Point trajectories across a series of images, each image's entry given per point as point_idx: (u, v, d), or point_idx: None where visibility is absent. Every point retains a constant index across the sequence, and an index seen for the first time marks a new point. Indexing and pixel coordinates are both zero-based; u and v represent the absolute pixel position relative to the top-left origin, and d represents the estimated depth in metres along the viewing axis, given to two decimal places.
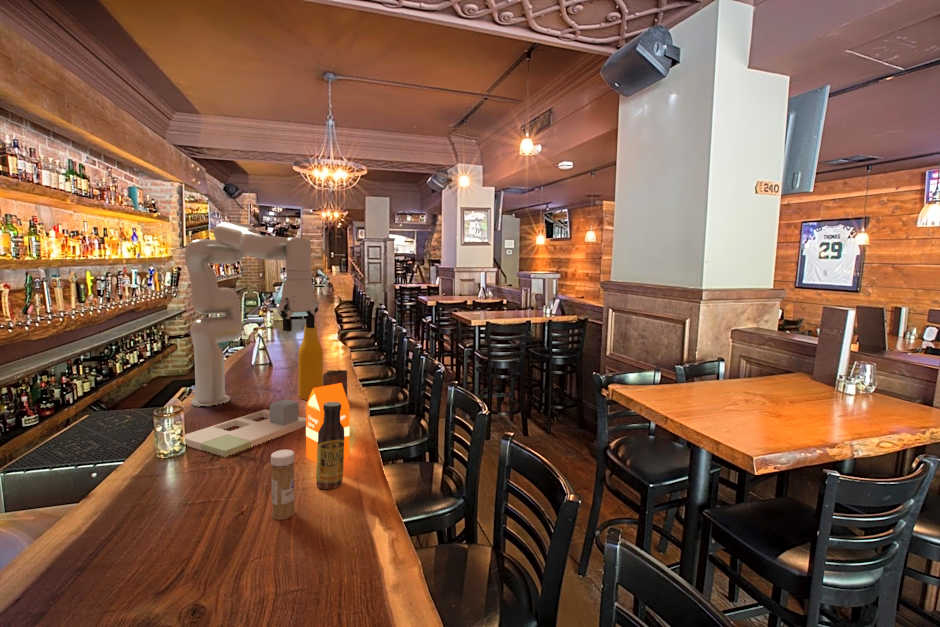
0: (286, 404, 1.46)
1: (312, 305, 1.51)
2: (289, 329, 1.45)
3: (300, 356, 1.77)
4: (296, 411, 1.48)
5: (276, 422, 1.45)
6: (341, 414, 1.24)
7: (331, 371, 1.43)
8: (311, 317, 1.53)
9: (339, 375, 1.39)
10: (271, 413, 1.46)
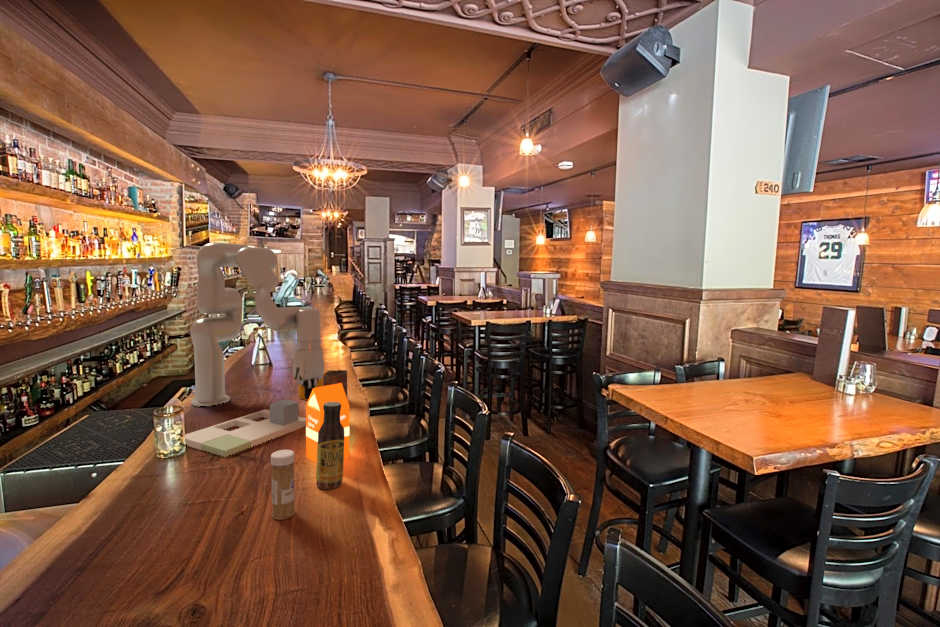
0: (286, 404, 1.46)
1: (322, 371, 1.58)
2: None
3: None
4: (296, 411, 1.48)
5: (276, 422, 1.45)
6: (341, 414, 1.24)
7: (331, 371, 1.43)
8: None
9: (339, 375, 1.39)
10: (271, 413, 1.46)
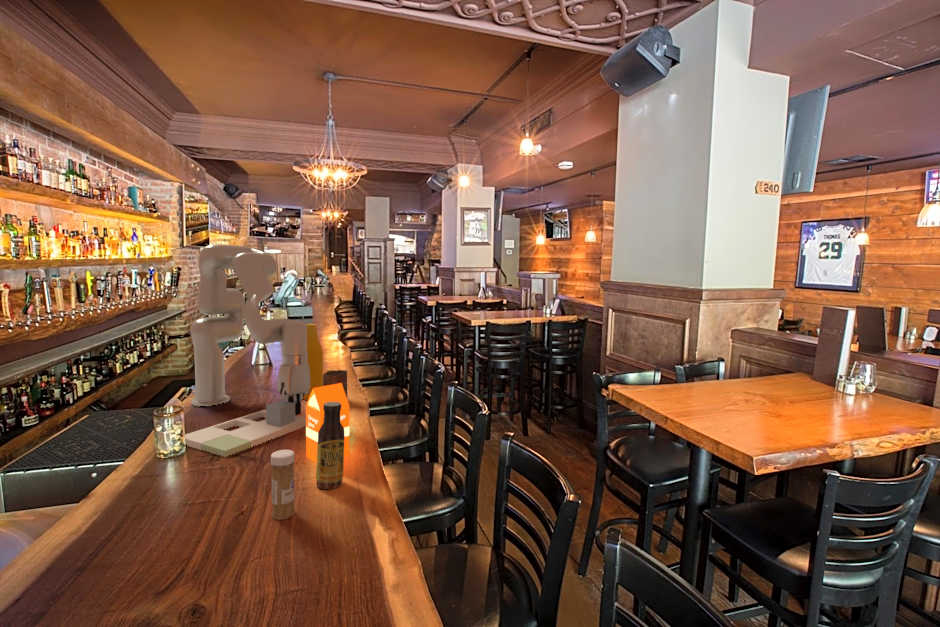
0: (283, 405, 1.45)
1: (308, 385, 1.54)
2: (296, 413, 1.51)
3: None
4: (293, 412, 1.47)
5: (273, 423, 1.44)
6: (341, 414, 1.24)
7: (331, 371, 1.43)
8: None
9: (339, 375, 1.39)
10: (267, 414, 1.45)
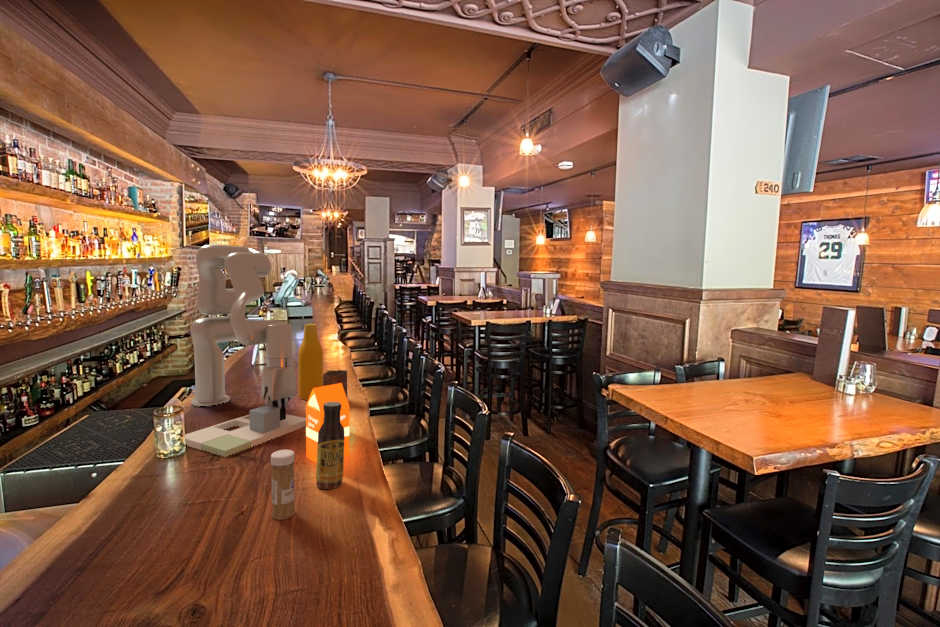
0: (267, 411, 1.39)
1: (293, 389, 1.48)
2: (281, 418, 1.45)
3: (300, 356, 1.77)
4: (277, 418, 1.42)
5: (256, 429, 1.38)
6: (341, 414, 1.24)
7: (331, 371, 1.43)
8: None
9: (339, 375, 1.39)
10: (251, 420, 1.39)
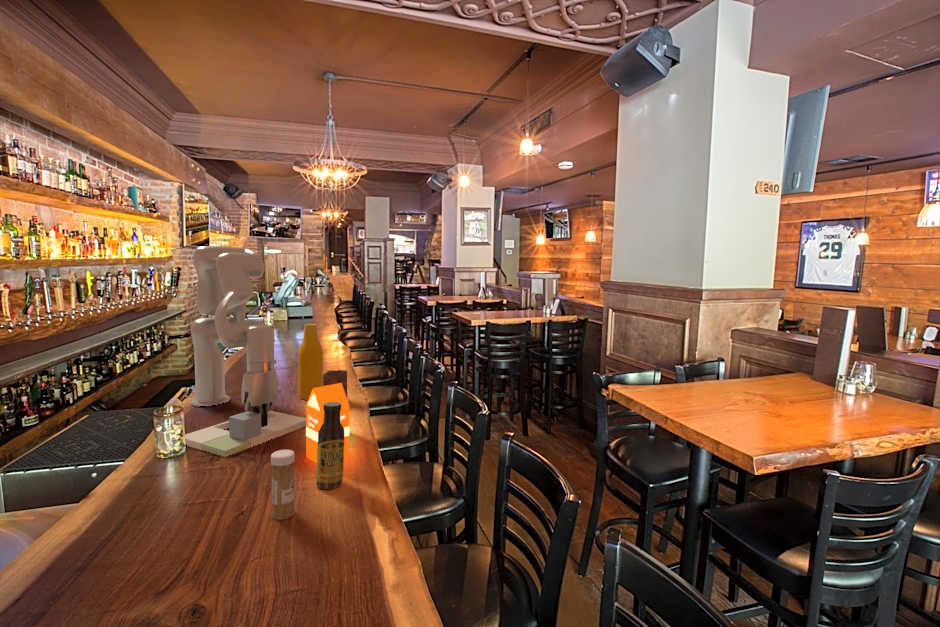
0: (247, 417, 1.33)
1: (276, 395, 1.42)
2: (262, 425, 1.39)
3: (300, 356, 1.77)
4: (259, 424, 1.35)
5: (236, 437, 1.32)
6: (341, 414, 1.24)
7: (331, 371, 1.43)
8: None
9: (339, 375, 1.39)
10: (230, 427, 1.33)
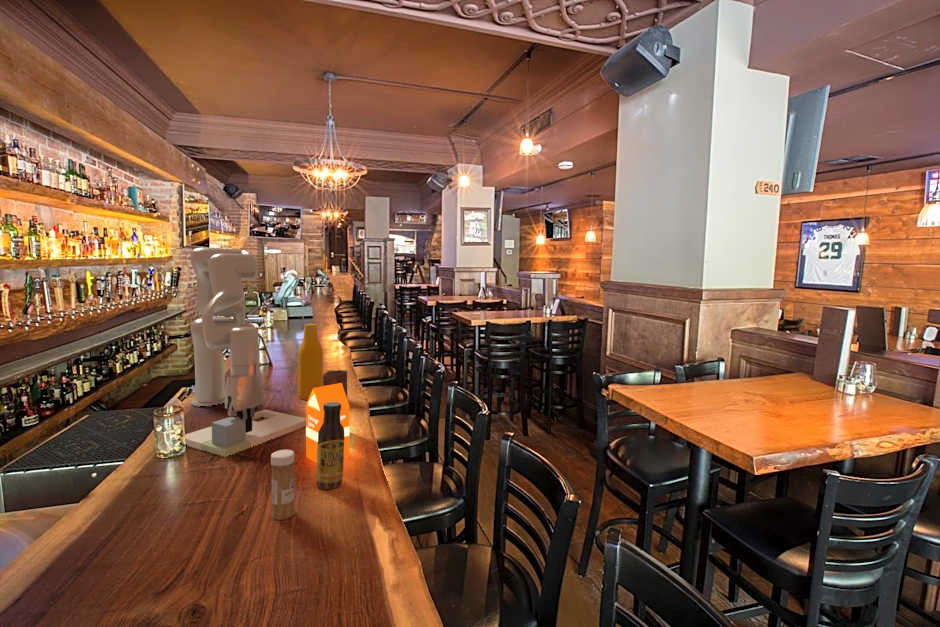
0: (230, 423, 1.28)
1: (261, 399, 1.37)
2: (246, 430, 1.34)
3: (300, 356, 1.77)
4: (243, 430, 1.30)
5: (219, 443, 1.27)
6: (341, 414, 1.24)
7: (331, 371, 1.43)
8: None
9: (339, 375, 1.39)
10: (213, 433, 1.28)
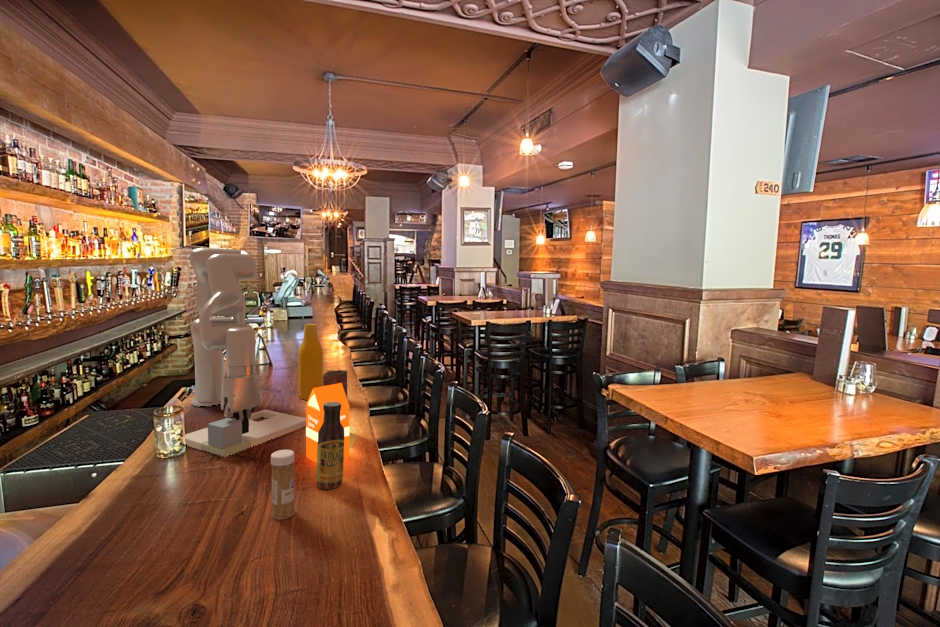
0: (227, 424, 1.27)
1: (258, 400, 1.36)
2: (243, 431, 1.33)
3: (300, 356, 1.77)
4: (239, 432, 1.29)
5: (215, 445, 1.26)
6: (341, 414, 1.24)
7: (331, 371, 1.43)
8: None
9: (339, 375, 1.39)
10: (209, 434, 1.27)
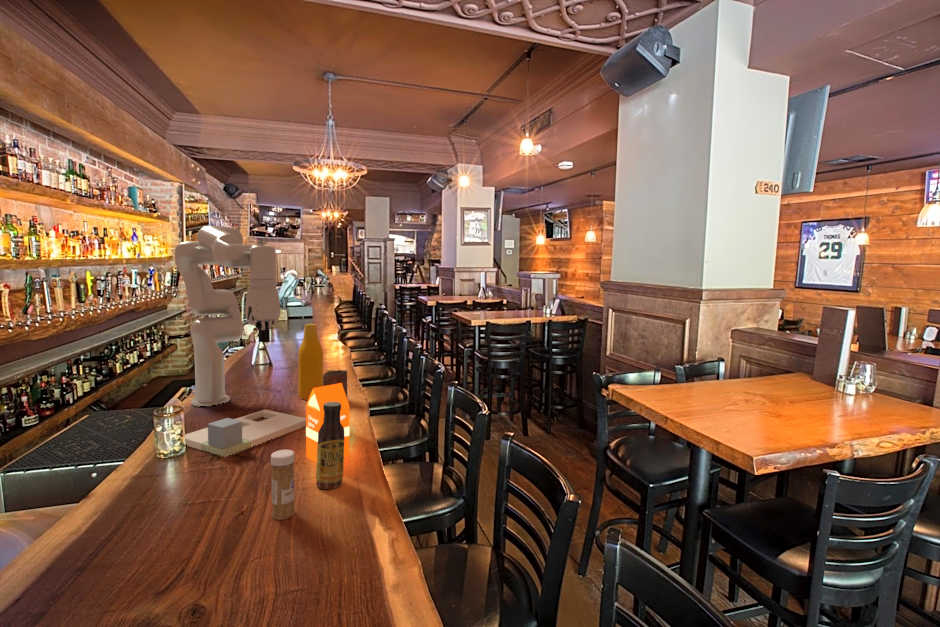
0: (227, 424, 1.27)
1: (278, 313, 1.50)
2: (264, 340, 1.47)
3: (300, 356, 1.77)
4: (239, 432, 1.29)
5: (215, 445, 1.26)
6: (341, 414, 1.24)
7: (331, 371, 1.43)
8: None
9: (339, 375, 1.39)
10: (209, 434, 1.27)
